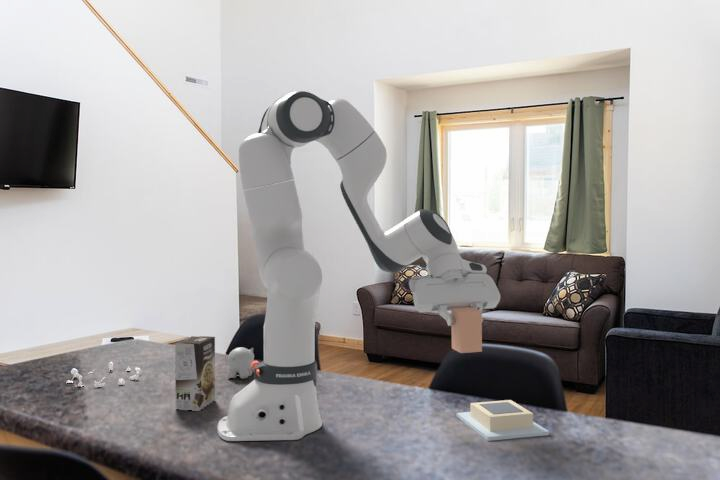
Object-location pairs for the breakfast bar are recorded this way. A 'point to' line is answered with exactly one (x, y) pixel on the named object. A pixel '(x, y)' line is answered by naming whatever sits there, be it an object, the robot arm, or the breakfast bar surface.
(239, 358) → the chubby cartoon animal
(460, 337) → the pillar block
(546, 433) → the base
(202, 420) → the breakfast bar surface
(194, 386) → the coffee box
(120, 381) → the game piece set
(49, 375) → the breakfast bar surface
